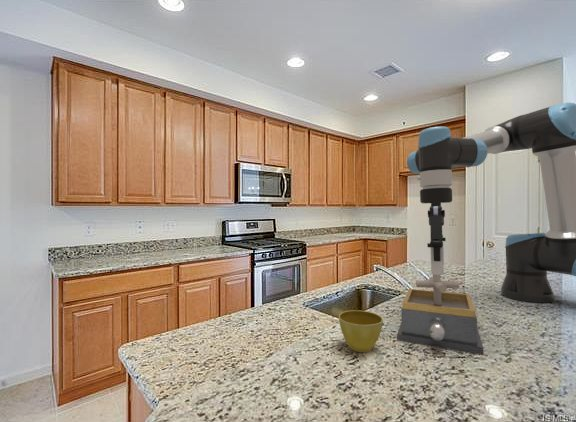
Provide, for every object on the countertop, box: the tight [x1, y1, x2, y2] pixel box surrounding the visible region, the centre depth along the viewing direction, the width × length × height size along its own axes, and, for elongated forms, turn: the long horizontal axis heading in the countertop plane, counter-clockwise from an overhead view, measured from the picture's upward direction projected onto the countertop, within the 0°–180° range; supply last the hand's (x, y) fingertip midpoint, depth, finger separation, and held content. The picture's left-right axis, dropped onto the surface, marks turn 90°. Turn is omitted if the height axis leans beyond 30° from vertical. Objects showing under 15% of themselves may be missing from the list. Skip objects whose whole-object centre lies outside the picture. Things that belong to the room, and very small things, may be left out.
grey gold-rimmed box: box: [396, 288, 484, 355], centre depth 77 cm, size 18×22×9 cm
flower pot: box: [338, 309, 384, 353], centre depth 71 cm, size 10×10×7 cm
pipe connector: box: [415, 274, 460, 305], centre depth 79 cm, size 10×10×10 cm
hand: (438, 269), depth 79 cm, fingers open, 13 cm apart
